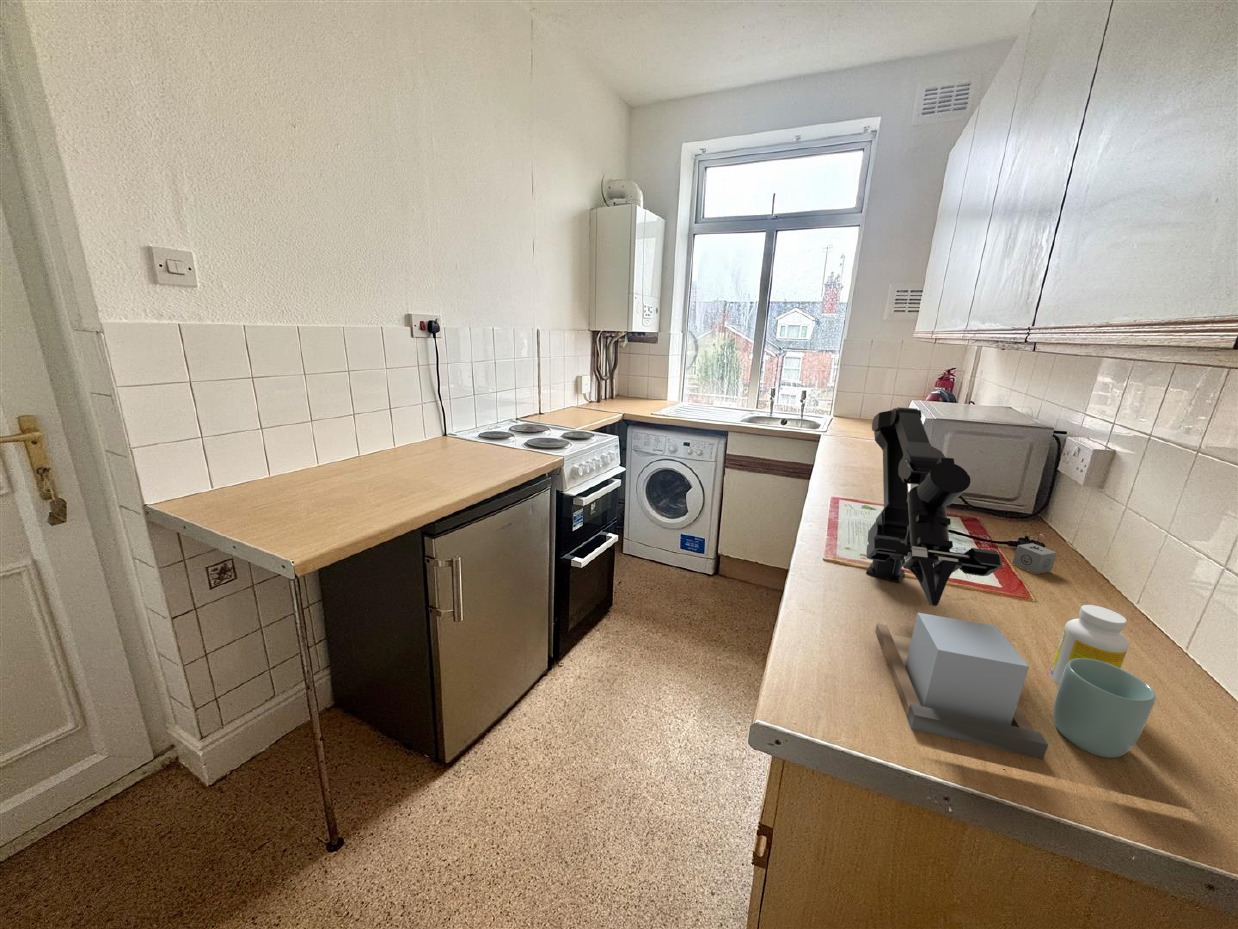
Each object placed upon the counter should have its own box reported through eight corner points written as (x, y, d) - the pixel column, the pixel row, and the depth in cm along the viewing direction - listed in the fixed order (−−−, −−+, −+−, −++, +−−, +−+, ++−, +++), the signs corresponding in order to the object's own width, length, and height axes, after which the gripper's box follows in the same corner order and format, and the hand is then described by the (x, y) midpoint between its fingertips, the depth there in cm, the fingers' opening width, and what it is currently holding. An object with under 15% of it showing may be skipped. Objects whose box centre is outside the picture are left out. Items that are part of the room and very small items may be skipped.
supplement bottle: (1121, 709, 67) (1151, 631, 64) (1067, 700, 69) (1094, 623, 65) (1086, 677, 74) (1112, 604, 70) (1038, 670, 75) (1061, 598, 71)
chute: (874, 635, 82) (877, 620, 81) (970, 653, 78) (974, 637, 77) (909, 733, 62) (914, 714, 61) (1041, 764, 58) (1048, 744, 57)
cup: (1146, 765, 58) (1174, 698, 56) (1094, 773, 57) (1121, 704, 54) (1078, 716, 66) (1100, 655, 63) (1031, 722, 64) (1051, 659, 62)
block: (904, 669, 73) (917, 612, 70) (979, 684, 70) (996, 625, 67) (922, 712, 64) (938, 649, 62) (1008, 731, 62) (1029, 666, 59)
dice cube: (1027, 562, 112) (1032, 543, 111) (1050, 572, 107) (1057, 552, 106) (1011, 564, 111) (1017, 545, 109) (1035, 575, 106) (1041, 554, 105)
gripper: (967, 541, 88) (976, 626, 81) (858, 526, 93) (858, 605, 86) (997, 518, 79) (1011, 612, 72) (874, 503, 84) (876, 590, 77)
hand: (933, 605), depth 77 cm, fingers closed
